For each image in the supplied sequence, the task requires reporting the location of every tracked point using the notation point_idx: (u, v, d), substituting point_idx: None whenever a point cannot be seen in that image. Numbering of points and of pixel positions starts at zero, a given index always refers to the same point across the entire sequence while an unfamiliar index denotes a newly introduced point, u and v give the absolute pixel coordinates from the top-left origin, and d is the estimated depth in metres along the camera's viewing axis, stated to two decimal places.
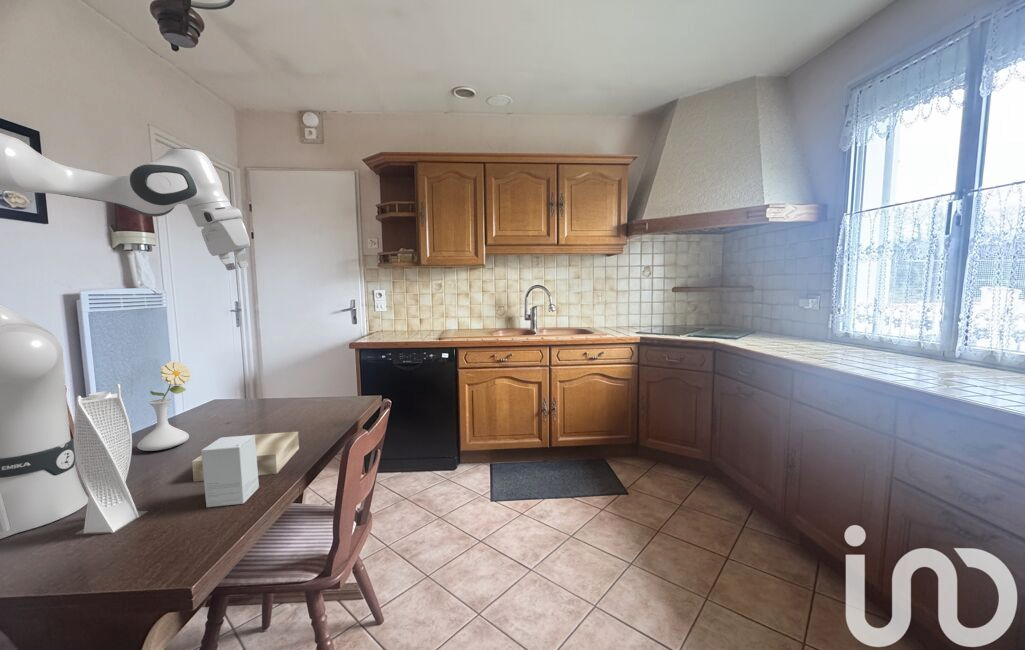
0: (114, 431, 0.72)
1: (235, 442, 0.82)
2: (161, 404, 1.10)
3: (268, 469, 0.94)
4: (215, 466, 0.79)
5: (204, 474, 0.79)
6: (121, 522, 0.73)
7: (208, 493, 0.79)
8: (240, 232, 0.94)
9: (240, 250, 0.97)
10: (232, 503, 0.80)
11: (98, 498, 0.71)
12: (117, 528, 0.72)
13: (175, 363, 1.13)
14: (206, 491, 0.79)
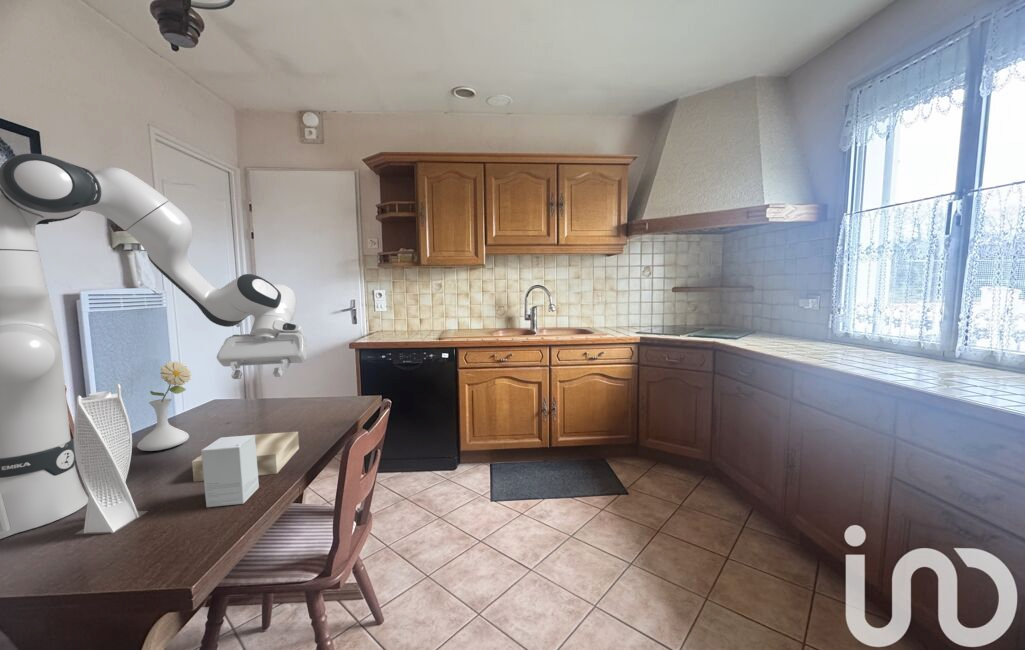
0: (114, 431, 0.72)
1: (235, 442, 0.82)
2: (161, 404, 1.10)
3: (268, 469, 0.94)
4: (215, 466, 0.79)
5: (204, 474, 0.79)
6: (121, 522, 0.73)
7: (208, 493, 0.79)
8: (305, 349, 1.03)
9: (288, 361, 1.00)
10: (232, 503, 0.80)
11: (99, 498, 0.71)
12: (117, 528, 0.72)
13: (175, 363, 1.13)
14: (206, 491, 0.79)
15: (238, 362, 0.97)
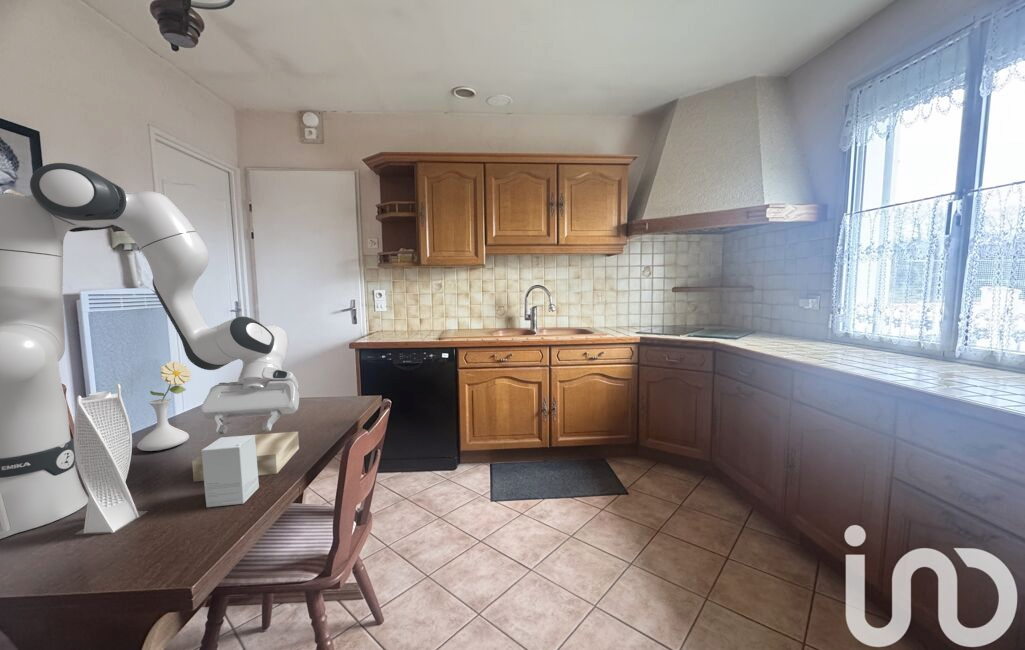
0: (114, 431, 0.72)
1: (235, 442, 0.82)
2: (161, 404, 1.10)
3: (268, 469, 0.94)
4: (215, 466, 0.79)
5: (204, 474, 0.79)
6: (121, 522, 0.73)
7: (208, 493, 0.79)
8: (297, 398, 0.96)
9: (278, 413, 0.93)
10: (232, 503, 0.80)
11: (99, 498, 0.71)
12: (117, 528, 0.72)
13: (175, 363, 1.13)
14: (206, 491, 0.79)
15: (224, 415, 0.90)
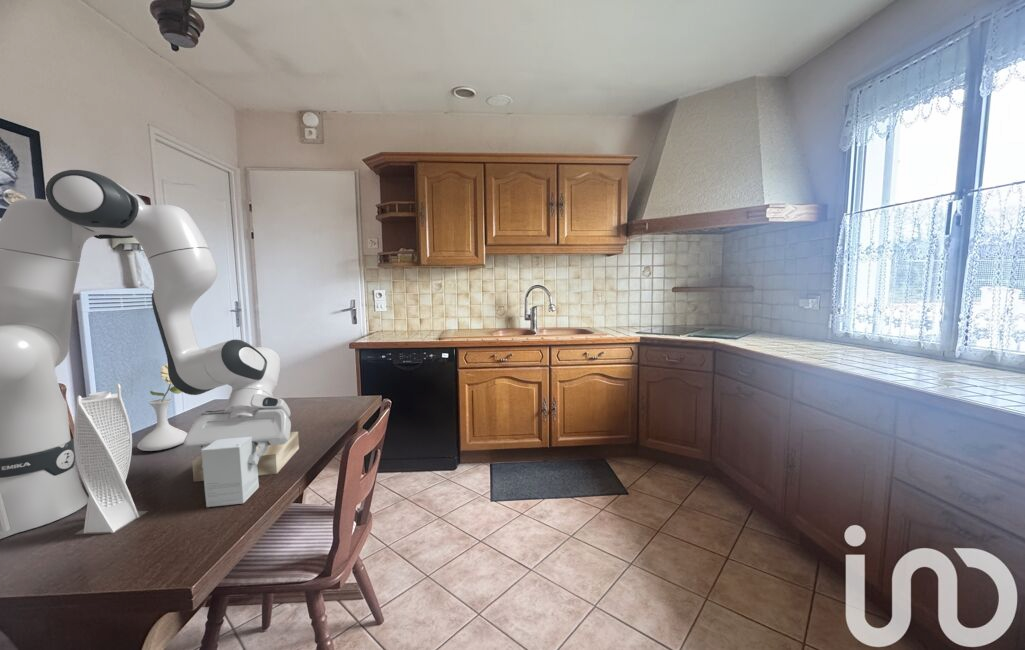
0: (114, 431, 0.72)
1: (235, 442, 0.82)
2: (161, 404, 1.10)
3: (268, 469, 0.94)
4: (215, 466, 0.79)
5: (204, 474, 0.79)
6: (121, 522, 0.73)
7: (208, 493, 0.79)
8: (289, 427, 0.90)
9: (266, 444, 0.86)
10: (232, 503, 0.80)
11: (99, 498, 0.71)
12: (117, 528, 0.72)
13: None
14: (206, 491, 0.79)
15: None
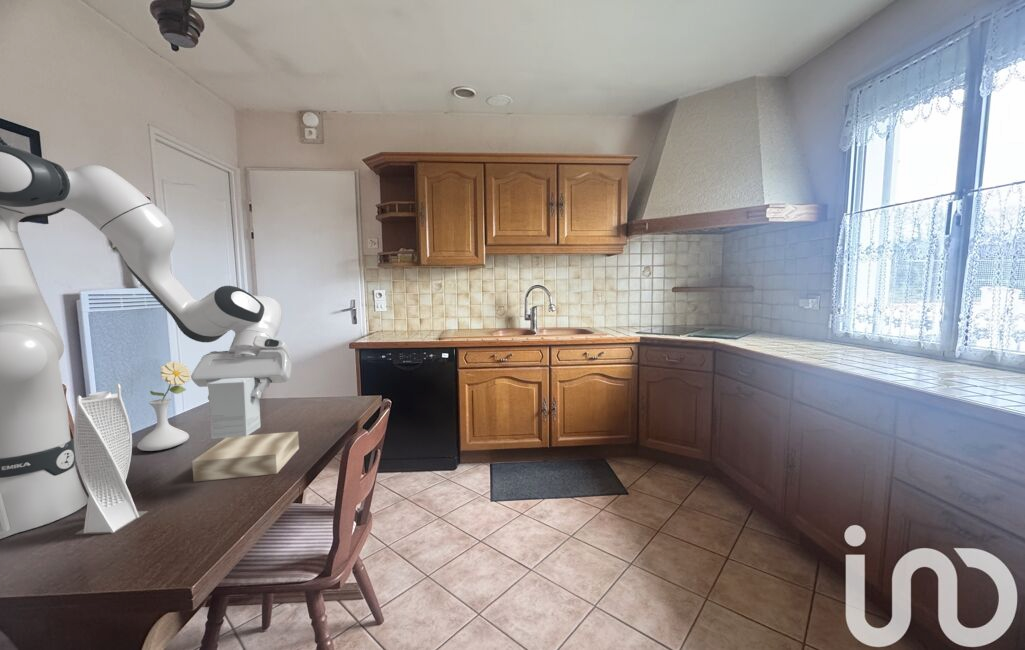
0: (114, 431, 0.72)
1: (240, 379, 0.87)
2: (161, 404, 1.10)
3: (268, 469, 0.94)
4: (221, 399, 0.84)
5: (210, 406, 0.84)
6: (121, 522, 0.73)
7: (213, 425, 0.84)
8: (289, 367, 0.95)
9: (268, 381, 0.92)
10: (236, 435, 0.85)
11: (99, 498, 0.71)
12: (117, 528, 0.72)
13: (175, 363, 1.13)
14: (211, 423, 0.84)
15: None
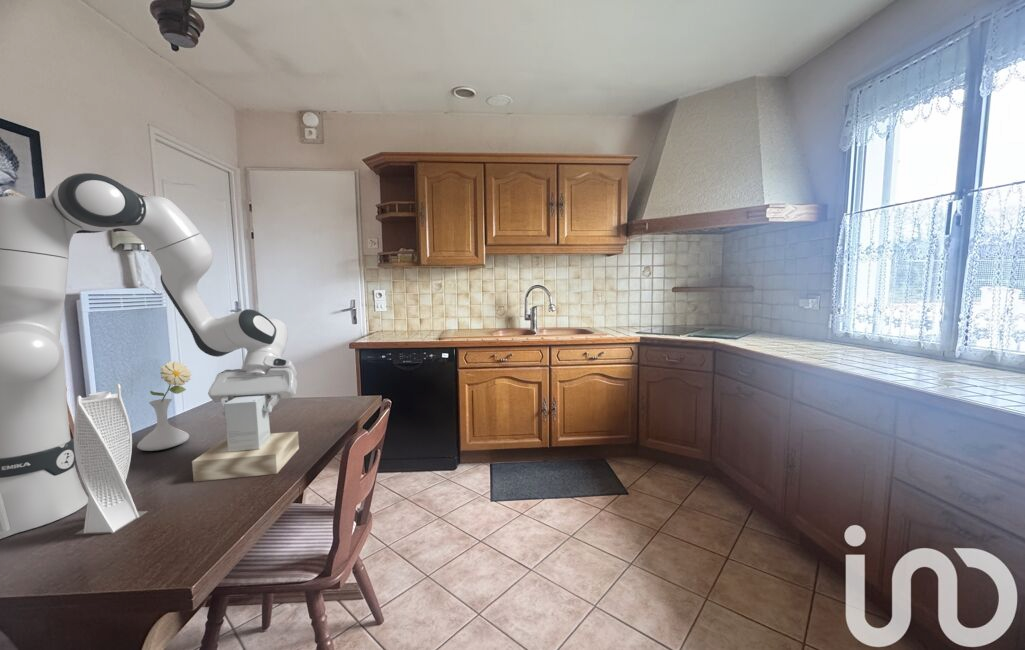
0: (114, 431, 0.72)
1: (252, 398, 0.98)
2: (161, 404, 1.10)
3: (268, 469, 0.94)
4: (236, 417, 0.95)
5: (226, 424, 0.95)
6: (121, 522, 0.73)
7: (230, 440, 0.95)
8: (295, 384, 1.06)
9: (278, 396, 1.03)
10: (250, 448, 0.96)
11: (99, 498, 0.71)
12: (117, 528, 0.72)
13: (175, 363, 1.13)
14: (228, 438, 0.95)
15: (229, 398, 1.00)
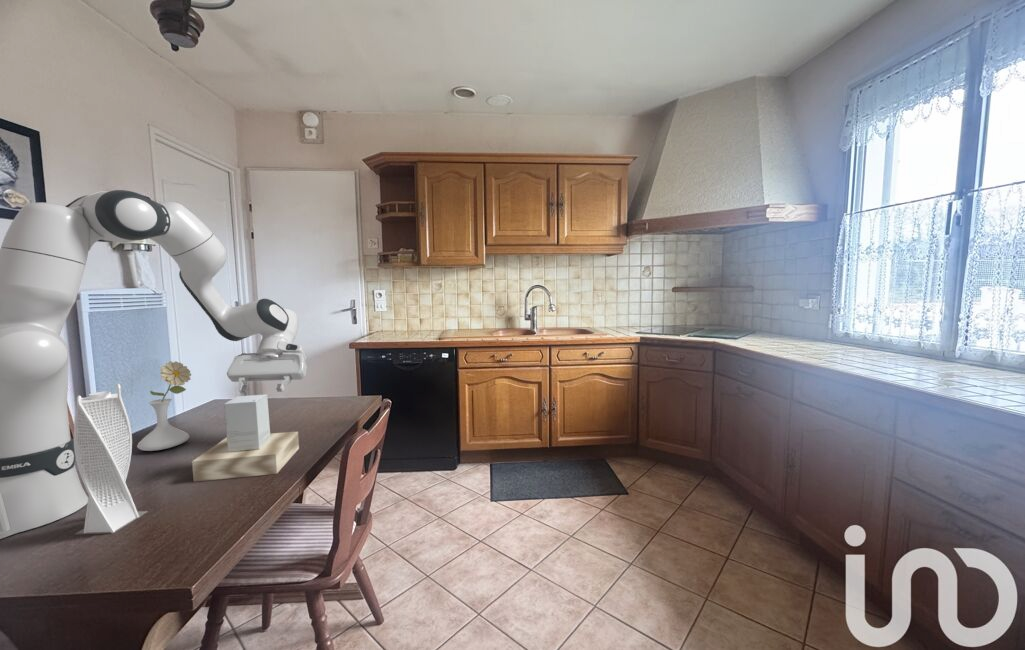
0: (114, 431, 0.72)
1: (252, 398, 0.98)
2: (161, 404, 1.10)
3: (268, 469, 0.94)
4: (236, 417, 0.95)
5: (226, 424, 0.95)
6: (121, 522, 0.73)
7: (230, 440, 0.95)
8: (305, 367, 1.17)
9: (290, 378, 1.13)
10: (250, 448, 0.96)
11: (99, 498, 0.71)
12: (117, 528, 0.72)
13: (175, 363, 1.13)
14: (228, 438, 0.95)
15: (245, 378, 1.10)
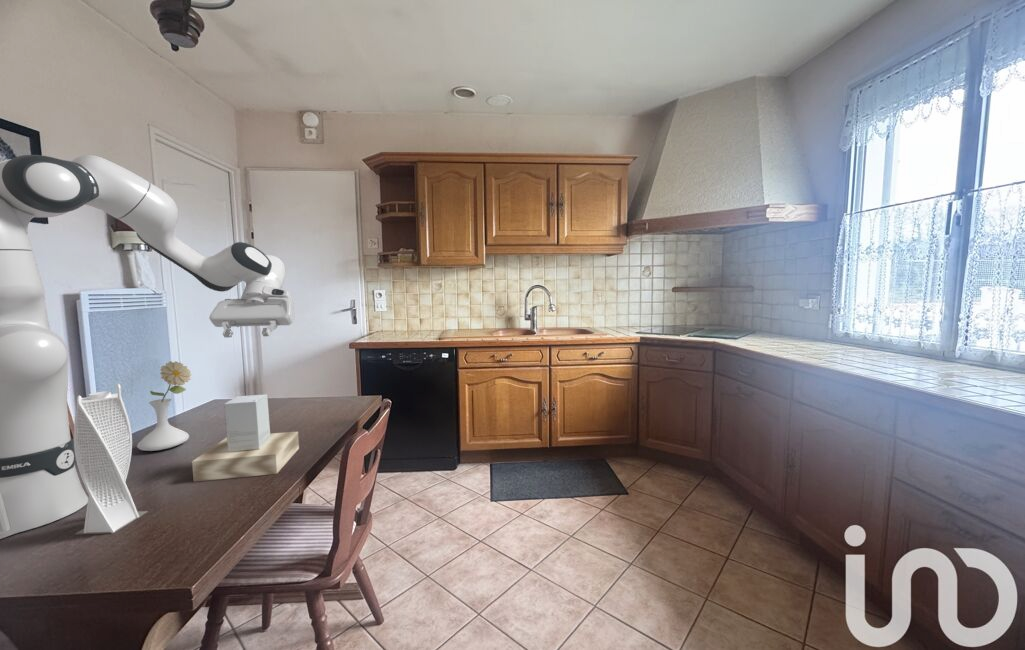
0: (114, 431, 0.72)
1: (252, 398, 0.98)
2: (161, 404, 1.10)
3: (268, 469, 0.94)
4: (236, 417, 0.95)
5: (226, 424, 0.95)
6: (121, 522, 0.73)
7: (230, 440, 0.95)
8: (293, 313, 1.11)
9: (276, 323, 1.08)
10: (250, 448, 0.96)
11: (99, 498, 0.71)
12: (117, 528, 0.72)
13: (175, 363, 1.13)
14: (228, 438, 0.95)
15: (229, 322, 1.05)
